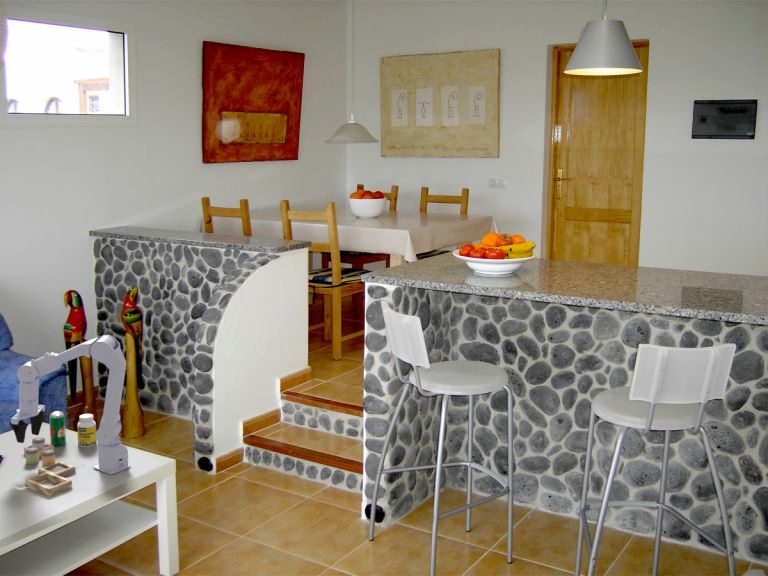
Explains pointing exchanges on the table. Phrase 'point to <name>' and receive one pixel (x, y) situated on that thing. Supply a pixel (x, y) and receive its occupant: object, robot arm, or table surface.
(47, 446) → the copper square frame
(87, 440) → the pill bottle
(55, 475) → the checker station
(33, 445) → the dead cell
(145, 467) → the table surface
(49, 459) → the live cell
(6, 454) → the table surface
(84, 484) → the table surface
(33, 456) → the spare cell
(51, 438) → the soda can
